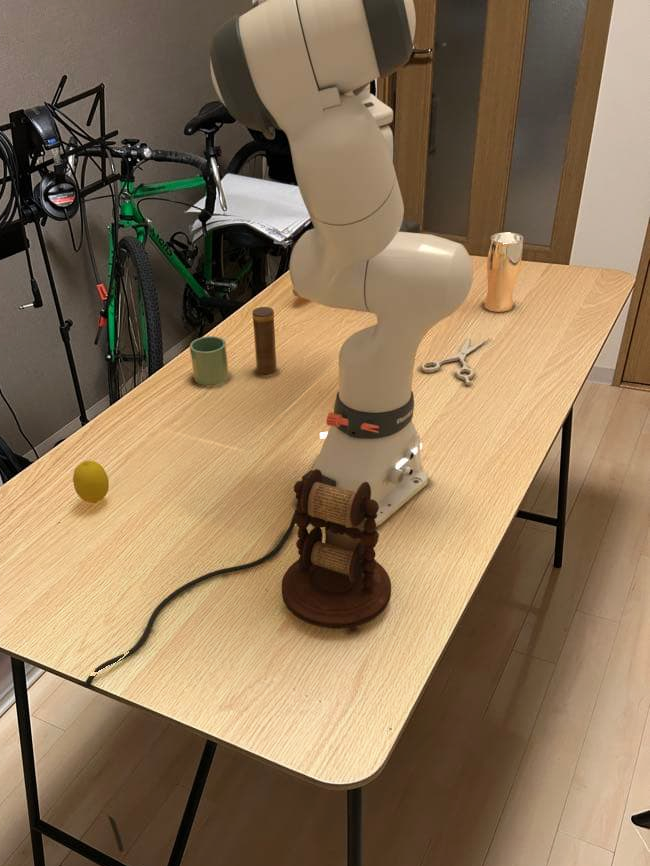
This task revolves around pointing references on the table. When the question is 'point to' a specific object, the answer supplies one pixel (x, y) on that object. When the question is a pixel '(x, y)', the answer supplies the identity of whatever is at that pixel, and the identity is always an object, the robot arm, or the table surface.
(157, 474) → the table surface
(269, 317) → the rod
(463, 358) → the scissors
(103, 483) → the lemon
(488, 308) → the beer glass
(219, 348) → the tumbler
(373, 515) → the wooden twine spool holder
